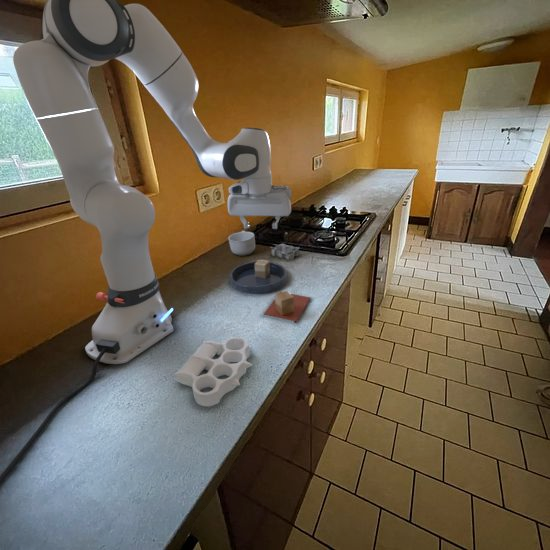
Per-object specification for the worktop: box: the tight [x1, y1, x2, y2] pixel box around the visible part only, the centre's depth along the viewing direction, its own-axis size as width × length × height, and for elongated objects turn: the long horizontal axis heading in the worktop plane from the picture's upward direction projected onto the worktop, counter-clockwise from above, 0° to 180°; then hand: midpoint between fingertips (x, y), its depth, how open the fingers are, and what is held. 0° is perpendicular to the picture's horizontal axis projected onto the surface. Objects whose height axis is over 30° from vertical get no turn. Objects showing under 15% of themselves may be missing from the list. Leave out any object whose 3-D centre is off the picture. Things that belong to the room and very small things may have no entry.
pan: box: [229, 260, 288, 295], centre depth 105 cm, size 19×19×3 cm
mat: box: [263, 291, 311, 324], centre depth 90 cm, size 13×10×1 cm
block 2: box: [274, 290, 294, 315], centre depth 87 cm, size 4×4×5 cm
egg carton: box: [269, 243, 300, 260], centre depth 123 cm, size 11×8×4 cm
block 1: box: [254, 259, 271, 278], centre depth 107 cm, size 4×4×5 cm
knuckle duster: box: [173, 337, 254, 408], centre depth 67 cm, size 3×18×15 cm
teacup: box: [227, 230, 256, 257], centre depth 127 cm, size 14×11×8 cm
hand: (260, 228), depth 99 cm, fingers open, 8 cm apart
